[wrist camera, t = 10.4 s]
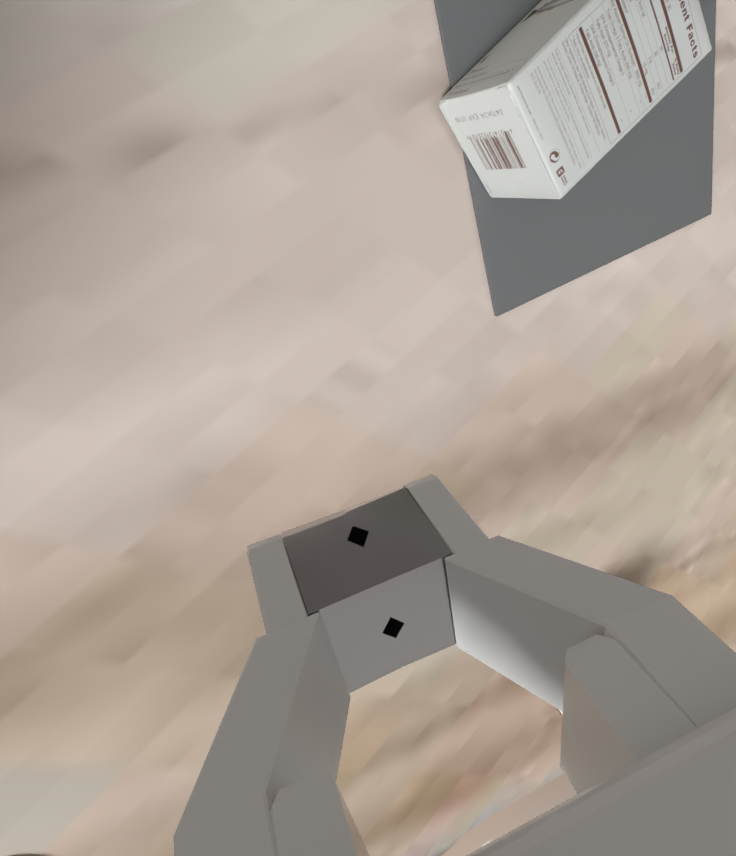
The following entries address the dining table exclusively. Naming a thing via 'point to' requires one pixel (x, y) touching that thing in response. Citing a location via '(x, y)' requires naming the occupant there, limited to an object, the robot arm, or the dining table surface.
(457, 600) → the robot arm
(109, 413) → the dining table surface
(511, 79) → the supplement box
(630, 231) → the mat
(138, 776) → the dining table surface
